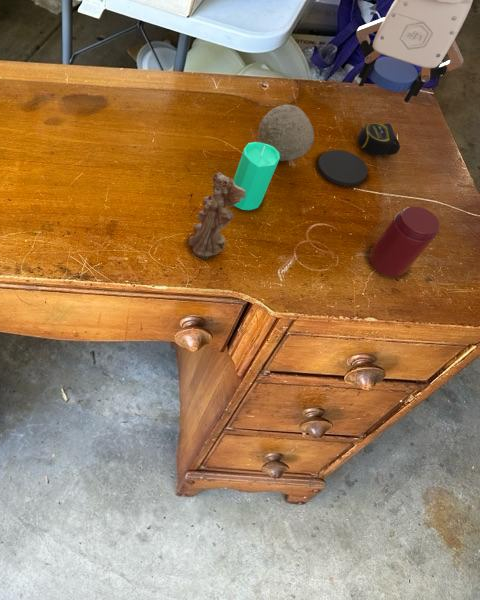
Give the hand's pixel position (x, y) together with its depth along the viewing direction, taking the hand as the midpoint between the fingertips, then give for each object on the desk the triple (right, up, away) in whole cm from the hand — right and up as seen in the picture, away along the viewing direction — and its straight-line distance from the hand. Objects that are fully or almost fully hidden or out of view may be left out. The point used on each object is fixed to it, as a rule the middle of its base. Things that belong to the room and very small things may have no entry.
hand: (385, 89), depth 93 cm
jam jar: (+2, -28, +2) cm, 28 cm away
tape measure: (+8, -5, +19) cm, 21 cm away
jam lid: (0, +2, -3) cm, 3 cm away
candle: (-20, -16, +10) cm, 28 cm away
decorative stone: (-12, -7, +16) cm, 22 cm away
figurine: (-29, -25, +3) cm, 39 cm away
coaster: (0, -10, +15) cm, 18 cm away
